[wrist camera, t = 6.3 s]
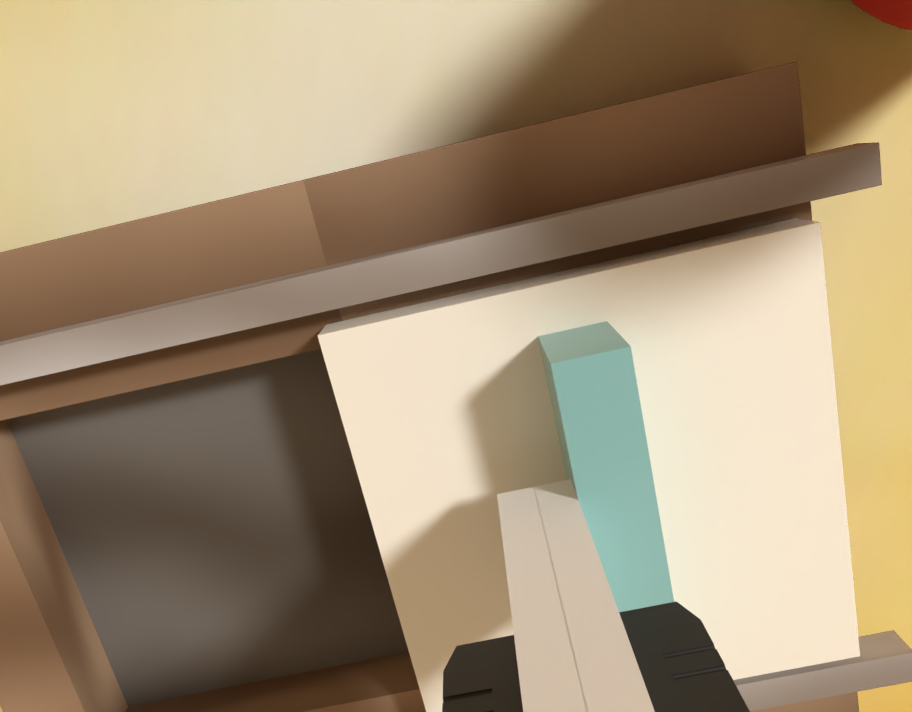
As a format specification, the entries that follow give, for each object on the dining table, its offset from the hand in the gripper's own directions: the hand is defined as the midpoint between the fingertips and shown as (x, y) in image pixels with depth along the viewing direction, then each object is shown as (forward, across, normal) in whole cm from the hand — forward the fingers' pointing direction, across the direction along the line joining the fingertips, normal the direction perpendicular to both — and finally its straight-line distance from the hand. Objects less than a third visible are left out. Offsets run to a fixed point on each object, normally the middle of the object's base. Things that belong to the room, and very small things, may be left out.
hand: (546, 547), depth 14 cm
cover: (+2, +1, 0) cm, 3 cm away
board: (+4, -4, 0) cm, 6 cm away
